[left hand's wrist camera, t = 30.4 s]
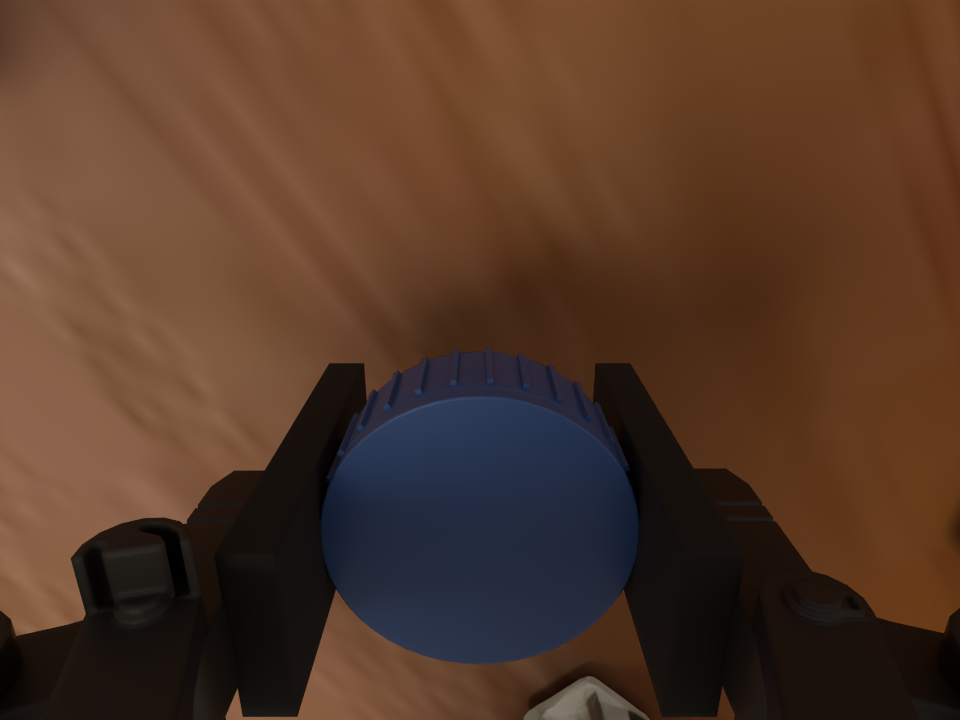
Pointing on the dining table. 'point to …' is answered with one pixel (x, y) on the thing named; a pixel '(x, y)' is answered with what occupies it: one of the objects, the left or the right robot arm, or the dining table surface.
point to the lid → (479, 510)
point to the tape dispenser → (585, 704)
